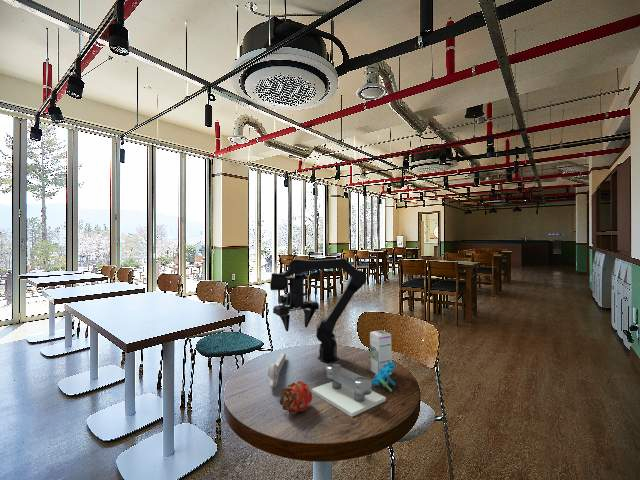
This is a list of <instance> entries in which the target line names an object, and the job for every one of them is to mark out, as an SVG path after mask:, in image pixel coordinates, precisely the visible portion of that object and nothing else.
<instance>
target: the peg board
mask: <svg viewBox="0 0 640 480" xmlns="http://www.w3.org/2000/svg"><path fill="white" fill-rule="evenodd" d="M311 393H312V394H314V395H315V396H317V397H319V398H321V399H322V400H324V401H325V402H327V403H329V404H330V405H332V406H334V407H335V408H336V409H338V410H339V411H341V412H343V413H345V414H347V415H348V416H349V417H351V418H353V417H354V416H357V415H359V414H361V413H363V412H366V411H367V410H369V409H372V408H373V407H376V406H378V405H380V404H382V403H384V402H386V401H387V398H386V396H384V395H382V394H380V393H377V392H376V391H374V390H372V393H371V394H369V395H359V394H357V393H355V391H354V390H352V389H350V388H348V387H346V386H345V385H343V384H341V383H339V382H337V381H335V380H333V379H331V381H330V382H327V383H324V384H321V385H319V386H316V387H313V388H311Z"/></svg>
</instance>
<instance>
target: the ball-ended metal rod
mask: <svg viewBox="0 0 640 480" xmlns="http://www.w3.org/2000/svg"><path fill="white" fill-rule="evenodd" d="M325 377H326V379H328V380H332V379H333V380H335V381H337V382H339V383H341V384H343V385H345V386H346V387H348V388H350V389H352V390H354V391H355V393H357V394H359V395H369V394H371V393H372V391H373V382H372V381H373V379H372V378H369V377H365V376H361V375H360V374H357V373H355V372H353V371H351V370H348V369H347V368H344V367H342V365H341V364H338V363H329V364H328V363H327V364H326V366H325Z"/></svg>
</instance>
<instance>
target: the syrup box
mask: <svg viewBox="0 0 640 480" xmlns="http://www.w3.org/2000/svg"><path fill="white" fill-rule="evenodd" d="M369 349H370V350H369V355H370V357H369V359H370V362H369V363H370V368H369V371H370V372H372V373H373V374H374V375H376V374H377V375H378V374H379V372H378V371H379V370H380V369H383V366H384V365H385V364H386V365H387V364H388V362H392V361H393V360H392V359H393V358H392V334H391V333H389V332H388V331H384V330H383V329H381V330H374V331H370V332H369ZM389 374H390V375H392V374H393V372H392V373H391V372H389Z"/></svg>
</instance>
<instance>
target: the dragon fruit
mask: <svg viewBox="0 0 640 480" xmlns="http://www.w3.org/2000/svg"><path fill="white" fill-rule="evenodd" d="M281 394H282V395H281V397H280V400H279V404H280V405H281V406H282V407H281V408H282V410H283V411H288V412H289V414H290V415H293V416H294V415H295V416H296V415H297V414H298V413H299V412H301V413H304V412H308V410H309V409H308V405H310V404H311V402H312V400H313V393H312V390H311V388H310V387H309V385H308V383H306V382H303V381H302V380H298V381H297V382H296V383H295V382H292V383H289V384H288V387H283V388H282V389H281Z"/></svg>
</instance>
